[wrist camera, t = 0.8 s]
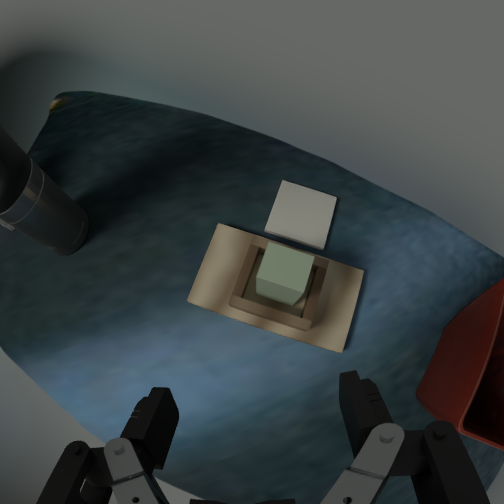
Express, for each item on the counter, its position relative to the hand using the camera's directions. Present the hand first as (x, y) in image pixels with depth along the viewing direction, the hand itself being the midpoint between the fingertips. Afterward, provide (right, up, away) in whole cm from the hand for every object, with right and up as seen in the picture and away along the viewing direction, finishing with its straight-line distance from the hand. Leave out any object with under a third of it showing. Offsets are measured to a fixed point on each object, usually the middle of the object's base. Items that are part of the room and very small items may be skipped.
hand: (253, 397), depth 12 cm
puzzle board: (+4, +2, +28) cm, 29 cm away
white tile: (+8, +12, +32) cm, 35 cm away
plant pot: (+33, -13, +23) cm, 42 cm away
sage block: (+4, +2, +27) cm, 27 cm away
